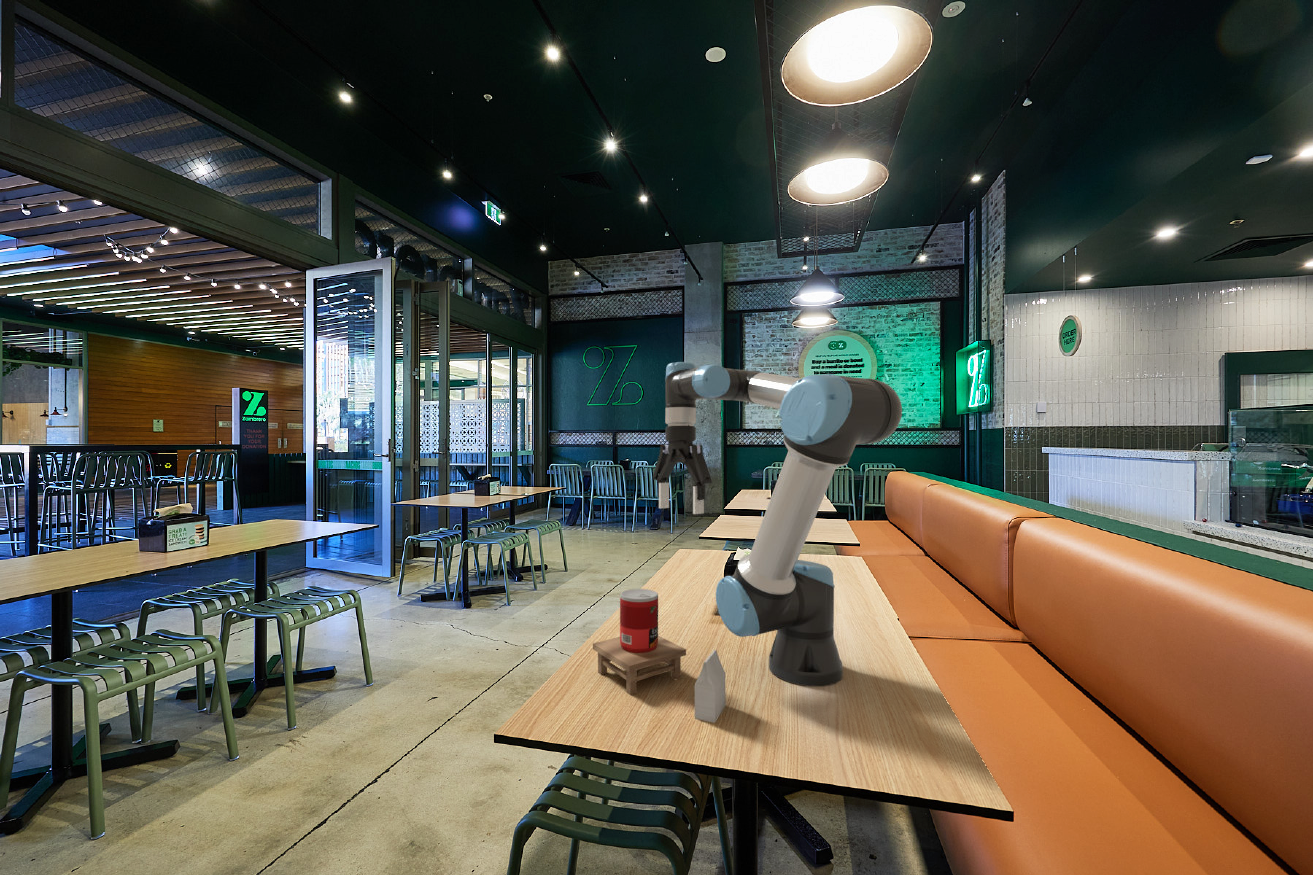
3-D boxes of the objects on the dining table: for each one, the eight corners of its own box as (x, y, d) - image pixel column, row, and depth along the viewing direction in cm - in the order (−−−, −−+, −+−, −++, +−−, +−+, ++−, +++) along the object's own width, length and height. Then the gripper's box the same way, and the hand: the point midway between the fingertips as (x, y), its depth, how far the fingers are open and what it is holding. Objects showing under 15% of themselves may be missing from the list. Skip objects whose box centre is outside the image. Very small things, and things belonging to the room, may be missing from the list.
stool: (686, 678, 109) (686, 649, 109) (629, 697, 100) (629, 665, 101) (646, 656, 120) (646, 629, 120) (592, 671, 112) (592, 643, 112)
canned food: (657, 653, 106) (657, 599, 106) (618, 653, 107) (618, 598, 107) (658, 639, 114) (658, 588, 114) (621, 639, 114) (621, 588, 114)
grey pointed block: (725, 705, 98) (725, 651, 98) (714, 723, 92) (714, 664, 92) (706, 701, 99) (706, 648, 99) (694, 718, 93) (694, 661, 93)
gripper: (726, 424, 124) (726, 514, 124) (662, 427, 144) (662, 504, 144) (702, 423, 119) (702, 517, 119) (639, 426, 139) (639, 506, 139)
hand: (680, 510), depth 131 cm, fingers open, 13 cm apart
